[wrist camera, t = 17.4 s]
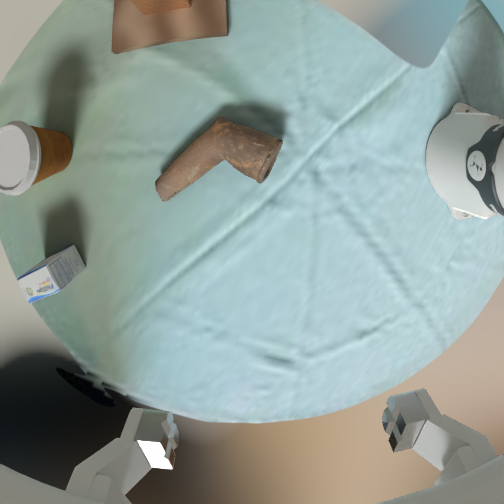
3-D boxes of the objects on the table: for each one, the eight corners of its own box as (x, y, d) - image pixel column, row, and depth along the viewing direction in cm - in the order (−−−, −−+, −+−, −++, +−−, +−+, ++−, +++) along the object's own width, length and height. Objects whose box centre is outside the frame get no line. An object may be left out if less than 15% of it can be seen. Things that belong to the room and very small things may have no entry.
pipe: (137, 182, 36) (186, 244, 37) (239, 89, 33) (296, 153, 34) (157, 181, 42) (200, 235, 44) (246, 103, 39) (294, 158, 40)
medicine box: (75, 243, 44) (46, 263, 35) (87, 268, 45) (60, 292, 37) (44, 258, 44) (15, 279, 36) (55, 281, 46) (29, 305, 38)
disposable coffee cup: (89, 167, 40) (42, 178, 28) (45, 191, 41) (-4, 209, 29) (71, 110, 37) (22, 106, 25) (28, 138, 38) (-22, 144, 26)
